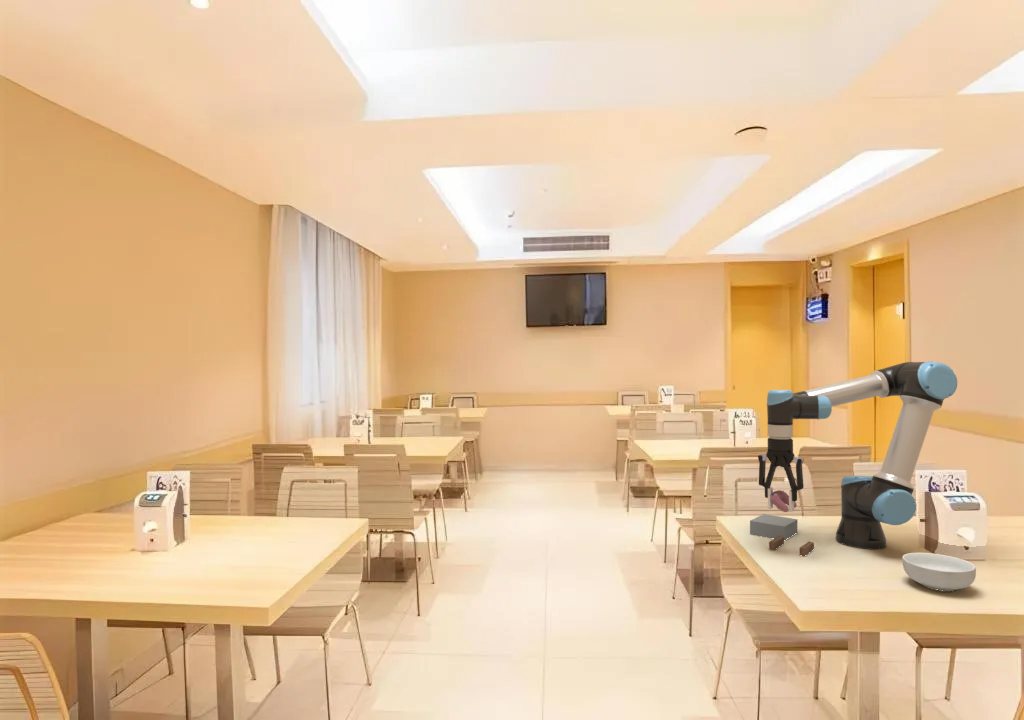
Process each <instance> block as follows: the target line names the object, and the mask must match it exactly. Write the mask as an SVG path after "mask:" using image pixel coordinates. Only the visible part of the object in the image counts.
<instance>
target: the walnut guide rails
mask: <svg viewBox="0 0 1024 720" xmlns="http://www.w3.org/2000/svg"><path fill="white" fill-rule="evenodd" d="M782 544H783V545H784V544H785V541H784V537H783V536H778V537H777V538H775V539H772V540H770V541H769V542H768V550H769V549H770V551H775V550H777V549H778V548H780V547H782V546H783V545H782ZM781 545H782V546H781ZM779 546H780V547H779ZM814 546H815V542H814V541H809V540H808V541H807V542H806V543H804V544H803V545H801V546H800V547H799V556H800V555H802V556H801V557H804V556H805V555H806V556H808V555H809V554H810V553H811V552H813V551H814V550H815V547H814ZM776 548H777V549H776ZM813 549H814V550H813ZM812 550H813V551H812ZM809 552H810V553H809ZM808 553H809V554H808ZM806 556H805V557H806Z"/></svg>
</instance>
